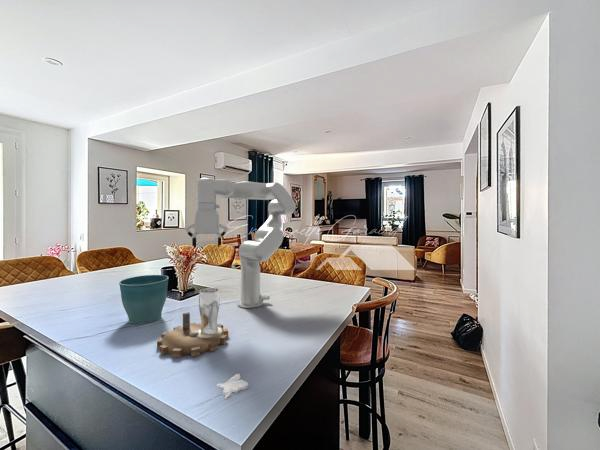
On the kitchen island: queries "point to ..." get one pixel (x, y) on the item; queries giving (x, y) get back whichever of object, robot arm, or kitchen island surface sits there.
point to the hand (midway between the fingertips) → (207, 247)
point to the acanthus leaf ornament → (233, 385)
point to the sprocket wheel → (190, 339)
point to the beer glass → (209, 310)
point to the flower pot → (144, 297)
